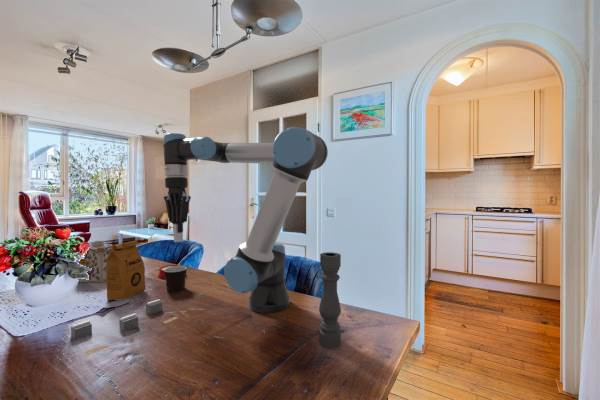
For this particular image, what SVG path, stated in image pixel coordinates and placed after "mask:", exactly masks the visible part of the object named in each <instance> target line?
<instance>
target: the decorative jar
mask: <svg viewBox="0 0 600 400" xmlns="http://www.w3.org/2000/svg"><path fill="white" fill-rule="evenodd" d="M113 245H114V244H112V243H104V240H95V241H92V242H91V244H90V245H89V246H90V248H89V250H88V251H87V254H85V255H84V256H85V258H84V259H81V260H80V261H79V262H78V263H79V264H81V265H83V266H86V267H89V268H92V270H91V271H88V272H87V273H88V275H89V280H86V279H78V278H77V281H78V280H79V281H81V282H80V283H104V282H105V281H106V265H107V259H108V256H109V254H110V251H111V249H112V246H113Z"/></svg>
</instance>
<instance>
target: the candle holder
mask: <svg viewBox="0 0 600 400" xmlns="http://www.w3.org/2000/svg"><path fill="white" fill-rule="evenodd" d="M319 256H320V257H319V258H320V259H319V260H320V261H319V266H320V268H321V271H322V274H321V275H320V277H321V280H322V282H323V284H322V290H323V291H322V294H321V299H320V301H319V307H318V311H319V314H320V317H321V320H322V321H321V322H320V324H319V329H318V344H319V345H320V346H321V347H323V348H326V349H335V348H338V347H339V346H341V343H342V341H341V340H342V332H341V331H342V330H341V329H340V328H341V326H340V323H339V321H338V320H339V316H340V315H341V313H342V309H341V304H340V299H339V295H338V281H339V280H340V279H341V278H340V277H341V276H340V275H339V274H338V273H339V270H340V268H341V265H342V263H341V261H342V259H341V258H342V257H341V253H338V252H330V251H329V252H326V251H325V252H322V253H320V255H319Z"/></svg>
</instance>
